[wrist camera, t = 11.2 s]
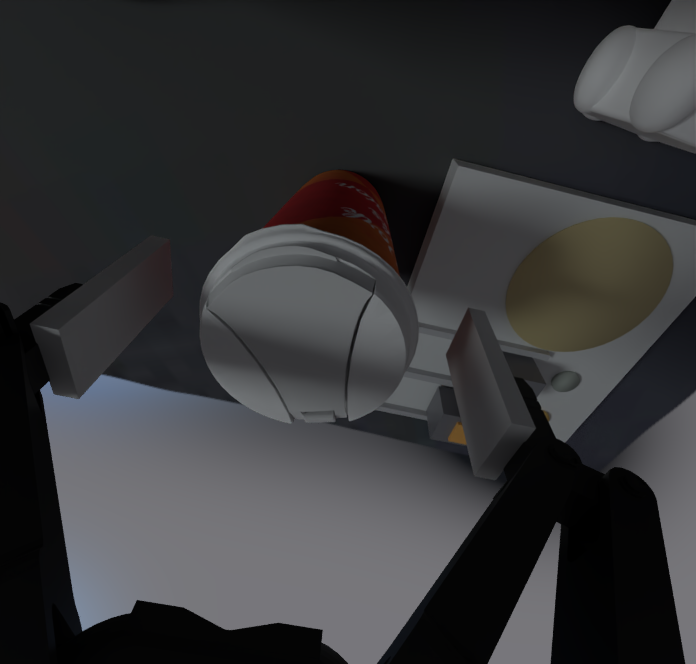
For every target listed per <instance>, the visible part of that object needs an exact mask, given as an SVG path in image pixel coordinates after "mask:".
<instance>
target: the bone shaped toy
mask: <svg viewBox="0 0 696 664" xmlns="http://www.w3.org/2000/svg"><path fill="white" fill-rule="evenodd" d="M574 105H575V107H576V109H577V110H578V111H579V112H581V113H583V115H584V116H585V117H586V118H588V119H590V120H594V121H601V120H602V121H604V122H607V123H610V124H612V125H615V126H617V127H620V128H622V129H625V130H628V131H630V132H633V133H635V134H637V135H638V137H639V138H641V139H642V140H645V141H649V142H655V141H656V142H661V143H664V144H667V145H670V146H673V147H676V148H679V149H682V150H685V151H689V152H692V153H695V154H696V0H671V2H670V4H669V5H668V7H667V8H666V10H665V12H664V13H663V15H662V16H661V18H660V20H659V21H658V23H657V25H656V26H655V28H654V29H645V28H636V27H635V26H631V25H627V26H622V27H619V28H617V29H615V30H614V31H612V32H611V33H610V34H608V35H607V36H606V37H605V38H604V39H603V40H602V41H601V42H600V44H599V45H598V46H597V47H596V49H595V50H594V51H593V53H592V54H591V56H590V57H589V59H588V60H587V62H586V64H585V66H584V68H583V69H582V71H581V74H580V76H579V78H578V81H577V83H576V87H575V90H574Z"/></svg>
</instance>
